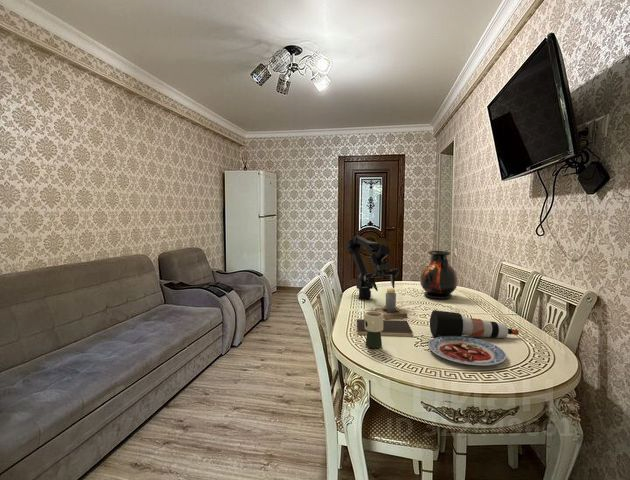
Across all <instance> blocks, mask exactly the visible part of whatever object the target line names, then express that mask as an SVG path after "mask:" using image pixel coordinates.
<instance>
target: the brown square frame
mask: <svg viewBox="0 0 630 480" xmlns="http://www.w3.org/2000/svg"><path fill="white" fill-rule="evenodd" d="M374 311H378V312H381V313H383V320H392V319H393V320H395V319H401V318H402V319H406V318H408V313H407V312H406V311H404V310H402V309H400V308H399V307H398V306H396V313H386V307H376V308H374Z"/></svg>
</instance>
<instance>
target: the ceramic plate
mask: <svg viewBox="0 0 630 480" xmlns="http://www.w3.org/2000/svg"><path fill="white" fill-rule="evenodd" d="M428 348H429V350H430V351H431V352H432V353H434V354H435V355H437V356H438V357H440V358H442V359H445V360H448V361H451V362H455V363H459V364H463V365H468V366H469V365H471V366H481V367H482V366H494V365H498V364H501V363H503V362H505V360H506V359H507V354H506V352H505V351H504V349H502V348H501V347H499V346H498V345H496V344H494V343H491V342H489V341H486V340H483V339H479V338H474V337H471V336H464V335H461V336H437V337H434V338H432V339H430V340H429V341H428Z"/></svg>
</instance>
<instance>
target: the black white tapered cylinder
mask: <svg viewBox="0 0 630 480" xmlns="http://www.w3.org/2000/svg"><path fill="white" fill-rule="evenodd" d="M429 330H430V333H431V334H432V335H433V336H437V337H442V336H468V337H479V338H480V337H484V338H497V339H498V338H499V339H506V338H507V337H508V335H513V336H514V335H515V336H518V335H519V329H515V328H508V324H507V323H504V322H497V321H491V320H484V319H481V318H475V317H474V318H473V317H466V316H462V314H461V313H460V312H455V311H454V312H453V311H444V310H435V309H433V310H432V311H431V313H430V318H429Z"/></svg>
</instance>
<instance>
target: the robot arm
mask: <svg viewBox="0 0 630 480" xmlns="http://www.w3.org/2000/svg"><path fill="white" fill-rule="evenodd" d="M361 247H363V248H365V251H366V252H367V253H368V254H370V255H369V260H371V263H372V266H373V268H372V269H373V270H374V273H373V272H368V271H367V269H366V265H365V263H364V261H363V258H362V255H361V253H360V252H361ZM345 248H346V250H347V252H348V254H350V255H351V256H352V259H353V261H354V263H355V266H356V269H357V272H358V279H357V280H358V281H357V282H356V285H355V286H356V289H357V290H358V300H366V301H369V300H370V299H371V297H372V291H371V289H374V290H375V292H378V291H379V289H378V286H377V284H376V281H375V278H380V277H386V276H390V280H389V281H390V284H391V286H392V289H395V281H396V277H398V275H399V274H400V270H399V268H397V267H396V268H391V267H392V266H391V262H390V261H387V262H384V261H383V260H384V259H385V258H386V257H387V256H388V255H390V253H391V249H389V247H388V246H386V245H385V244H383V243H381V244H380V242H376V241H371V240H368V239H366V238H364V237H363V236H361V235H358V236H357V235H355V236H353V238H352V239H350V240H348V241H347V243H346V245H345ZM389 268H391V269H390V270H389ZM388 270H389V271H388Z"/></svg>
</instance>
